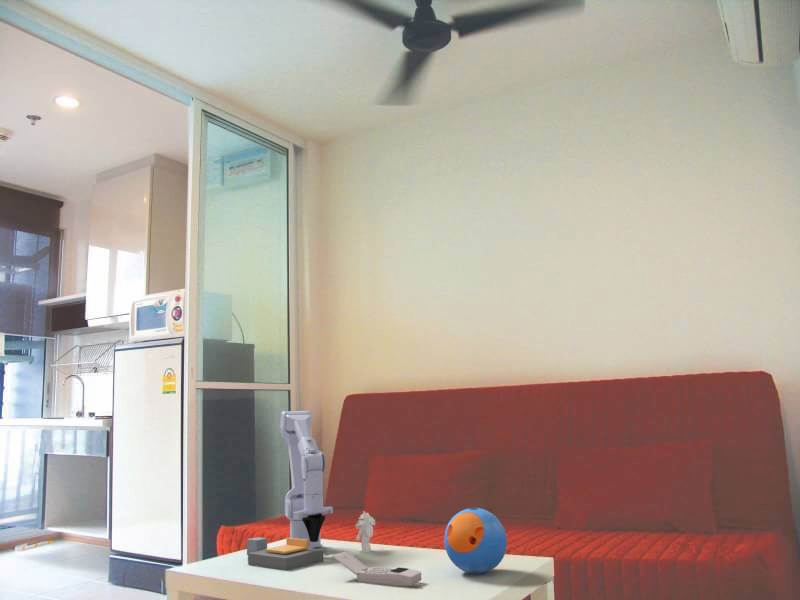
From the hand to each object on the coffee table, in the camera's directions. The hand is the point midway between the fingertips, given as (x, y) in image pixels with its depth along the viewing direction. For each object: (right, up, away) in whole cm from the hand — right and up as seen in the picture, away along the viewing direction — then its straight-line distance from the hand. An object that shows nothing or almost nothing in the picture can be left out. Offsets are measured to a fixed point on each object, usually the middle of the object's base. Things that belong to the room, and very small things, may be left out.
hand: (313, 541), depth 190 cm
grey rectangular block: (-17, -5, 0) cm, 18 cm away
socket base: (-7, -2, -9) cm, 12 cm away
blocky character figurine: (+15, -4, +4) cm, 16 cm away
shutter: (-7, +1, -8) cm, 11 cm away
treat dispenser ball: (+45, +4, -32) cm, 55 cm away
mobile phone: (+21, +4, -36) cm, 42 cm away
